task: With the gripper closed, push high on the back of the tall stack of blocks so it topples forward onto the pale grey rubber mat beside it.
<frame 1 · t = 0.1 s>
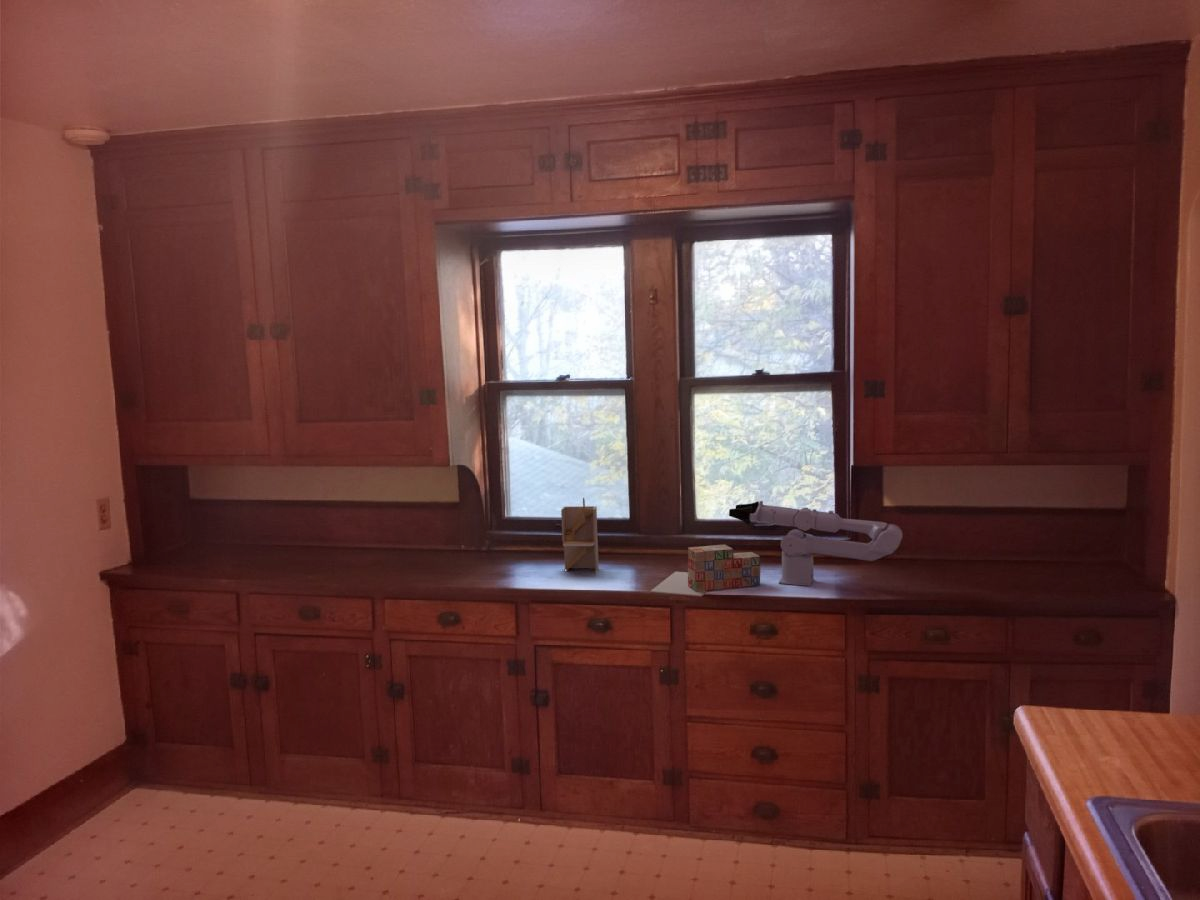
hand: (732, 510, 273), 22 cm above the countertop, tool horizontal, fingers open, 7 cm apart
stack of blocks: (723, 586, 265), on the countertop, touching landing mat
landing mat: (687, 584, 269), on the countertop
wooden shelf: (580, 572, 290), on the countertop
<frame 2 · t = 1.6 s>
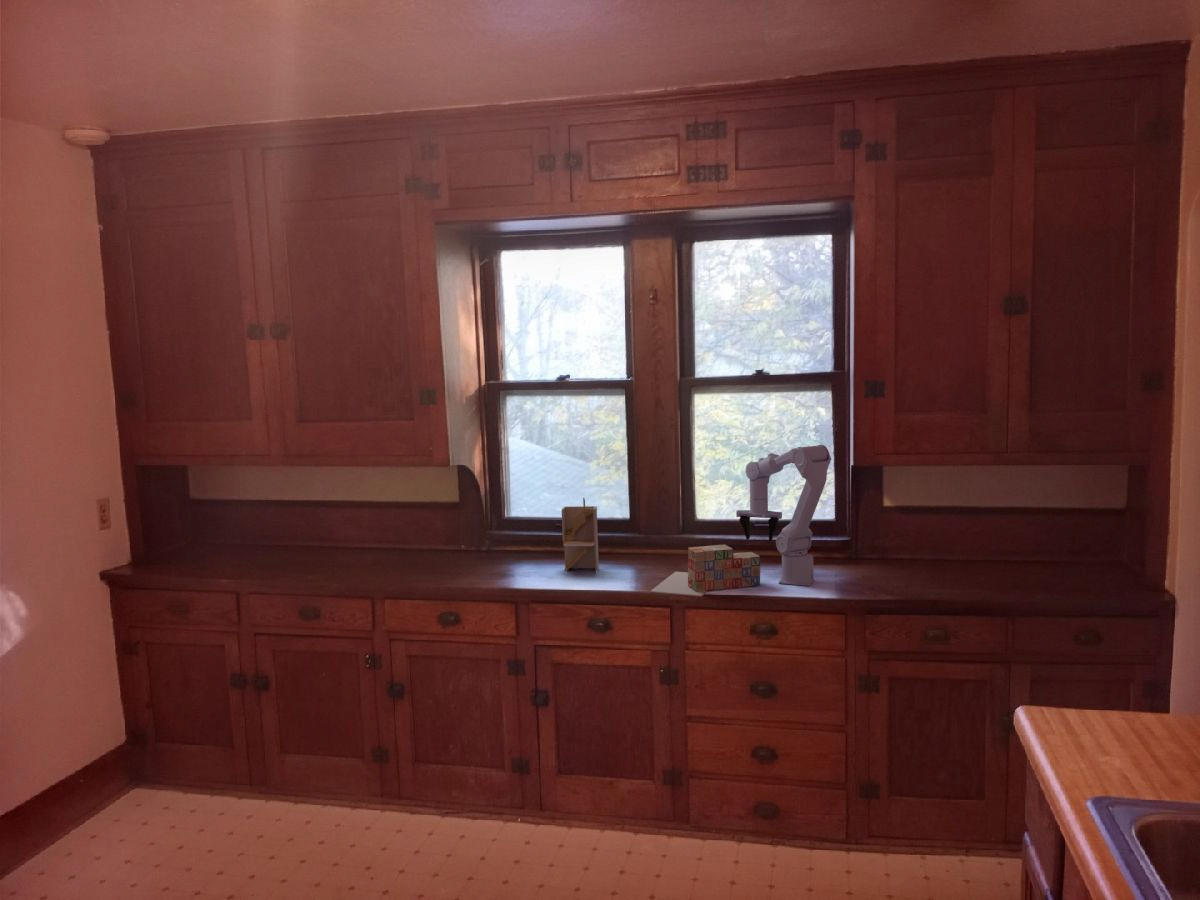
hand: (759, 539, 281), 10 cm above the countertop, tool pointing down, fingers open, 7 cm apart
nothing on the countertop moved.
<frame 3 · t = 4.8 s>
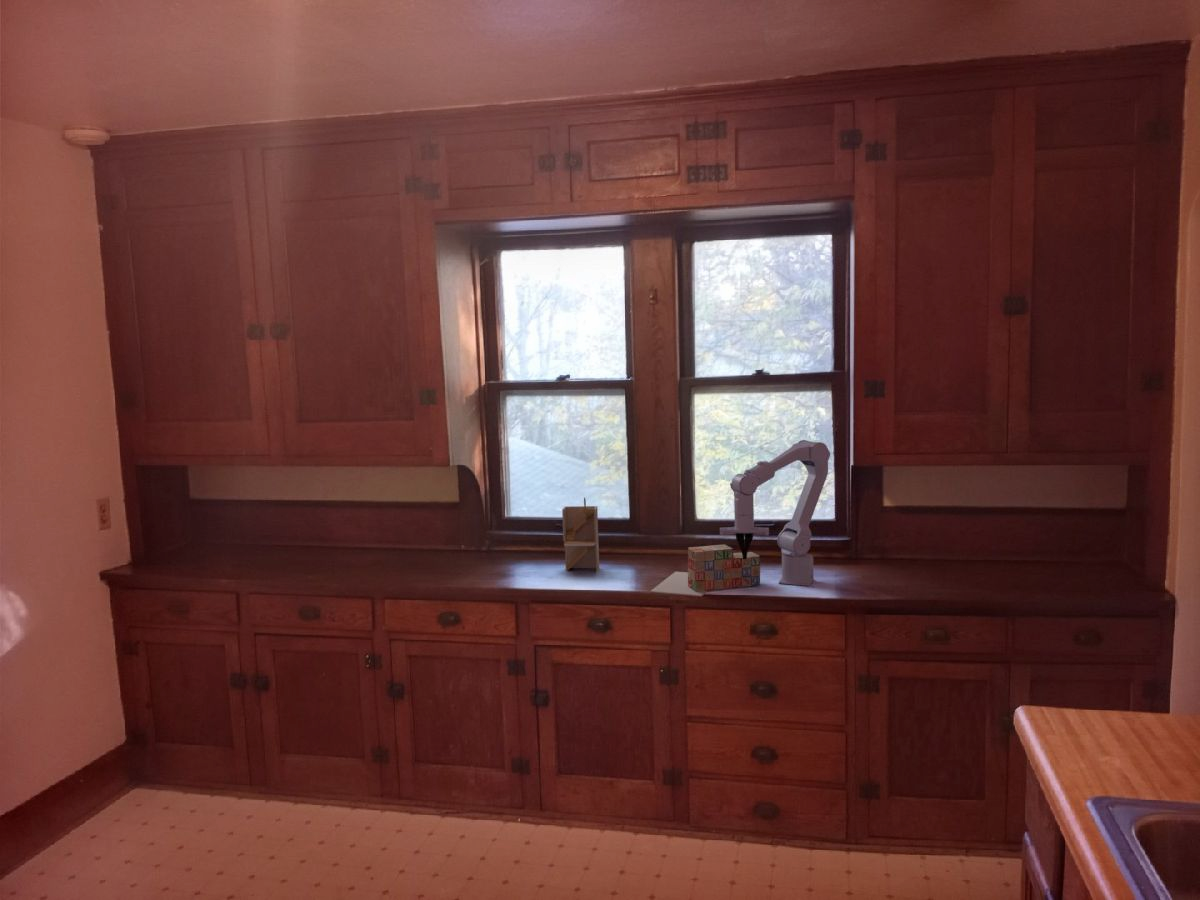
hand: (744, 558, 261), 9 cm above the countertop, tool pointing down, fingers closed
stack of blocks: (723, 586, 265), on the countertop, touching gripper, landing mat
everything else where it was.
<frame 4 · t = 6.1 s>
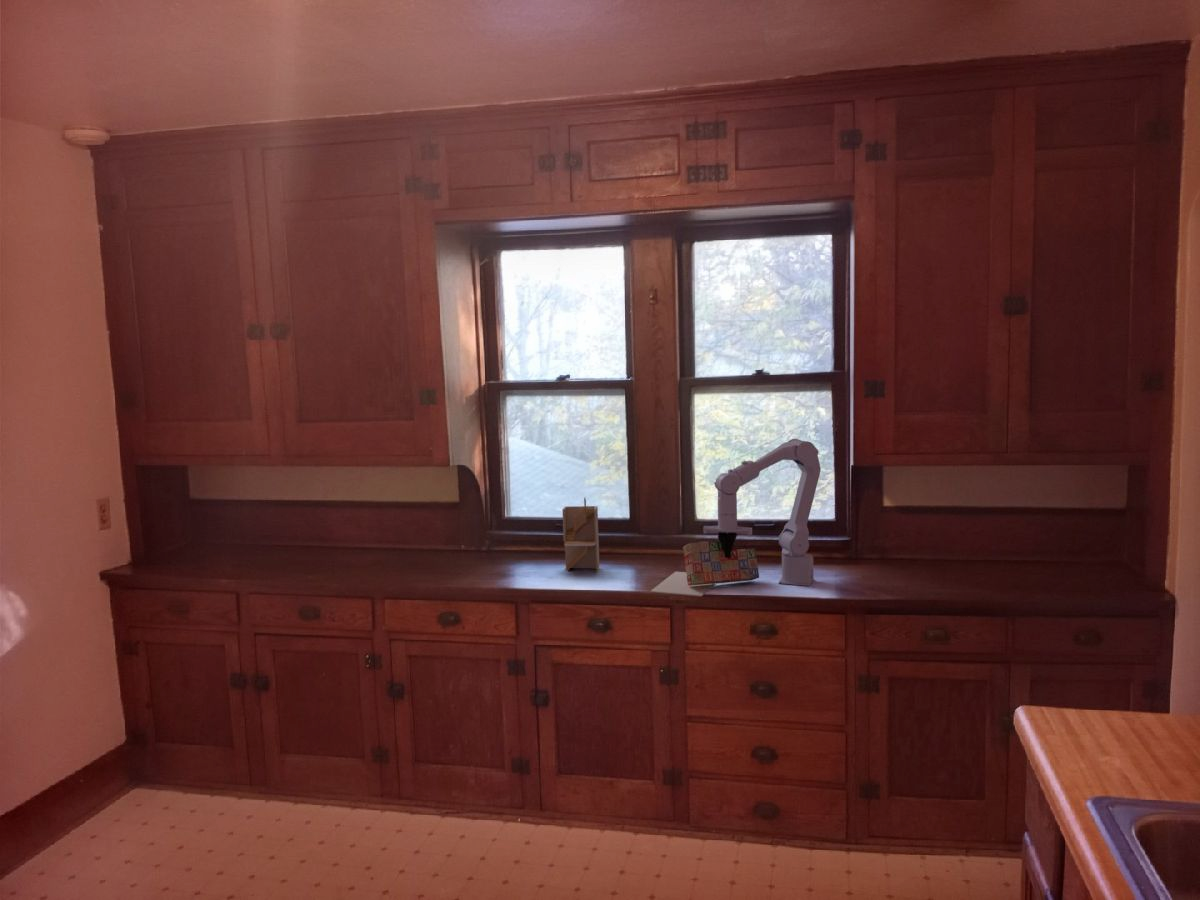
hand: (728, 557, 263), 9 cm above the countertop, tool pointing down, fingers closed
stack of blocks: (723, 582, 265), point 1 cm above the countertop, touching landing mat
everything else where it was.
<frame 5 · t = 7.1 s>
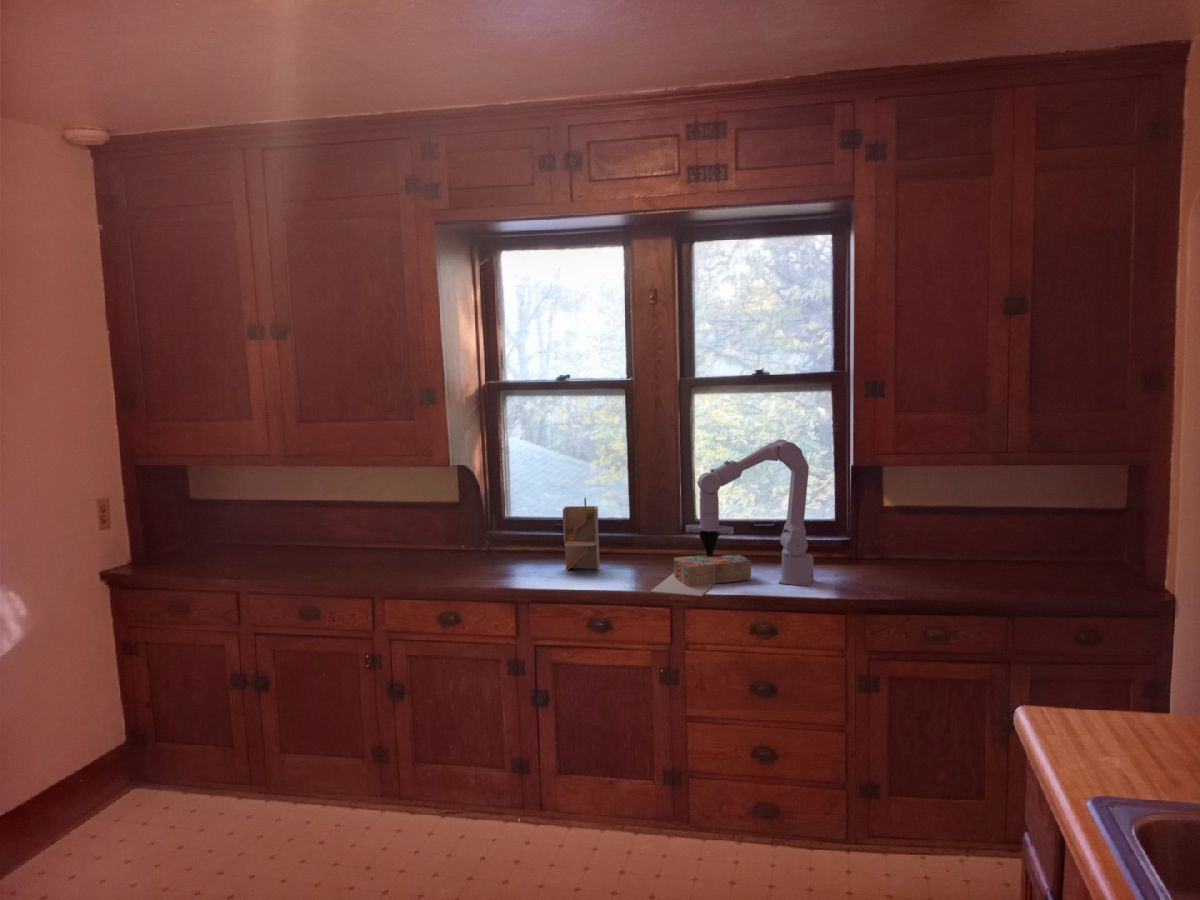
hand: (710, 555, 265), 9 cm above the countertop, tool pointing down, fingers closed
stack of blocks: (720, 573, 267), point 3 cm above the countertop, touching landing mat
everything else where it was.
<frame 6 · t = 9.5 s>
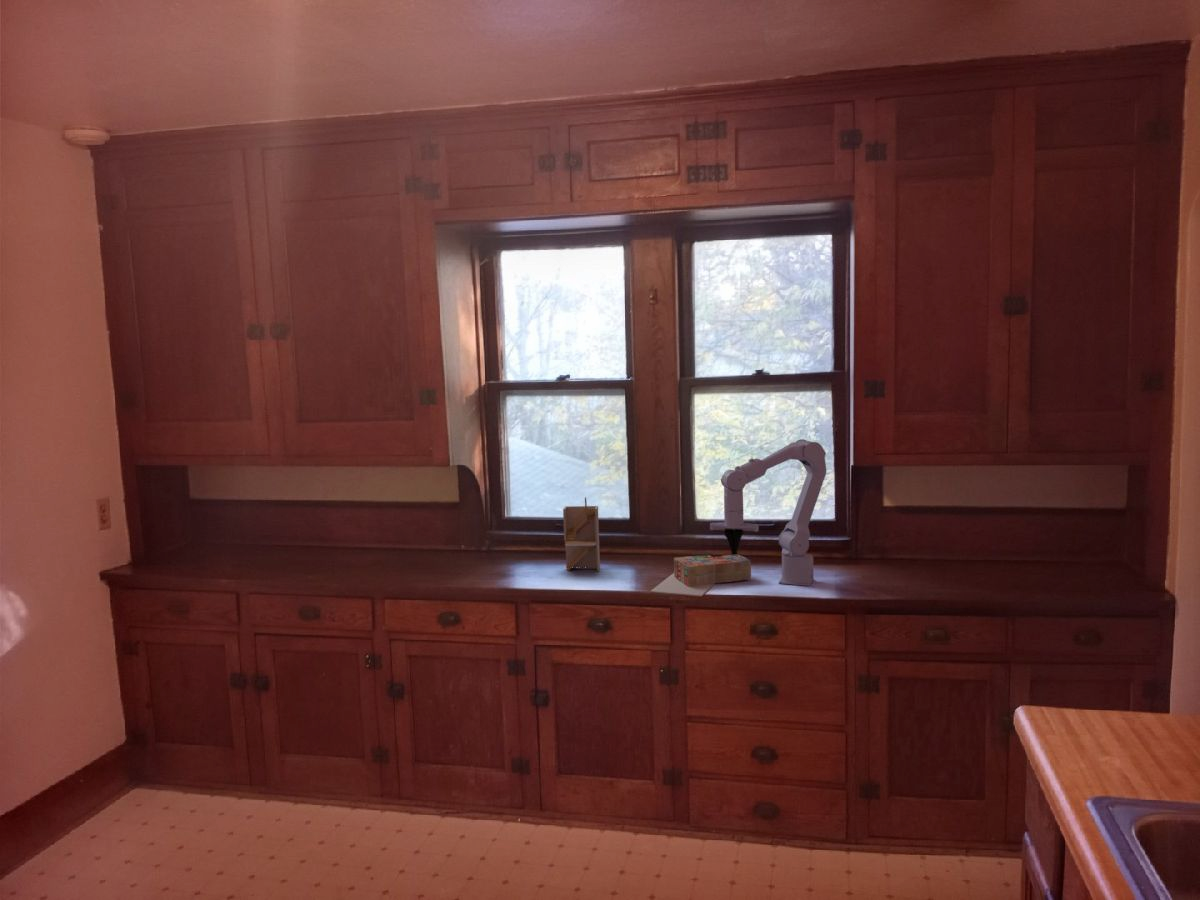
hand: (734, 553, 263), 10 cm above the countertop, tool pointing down, fingers closed
nothing on the countertop moved.
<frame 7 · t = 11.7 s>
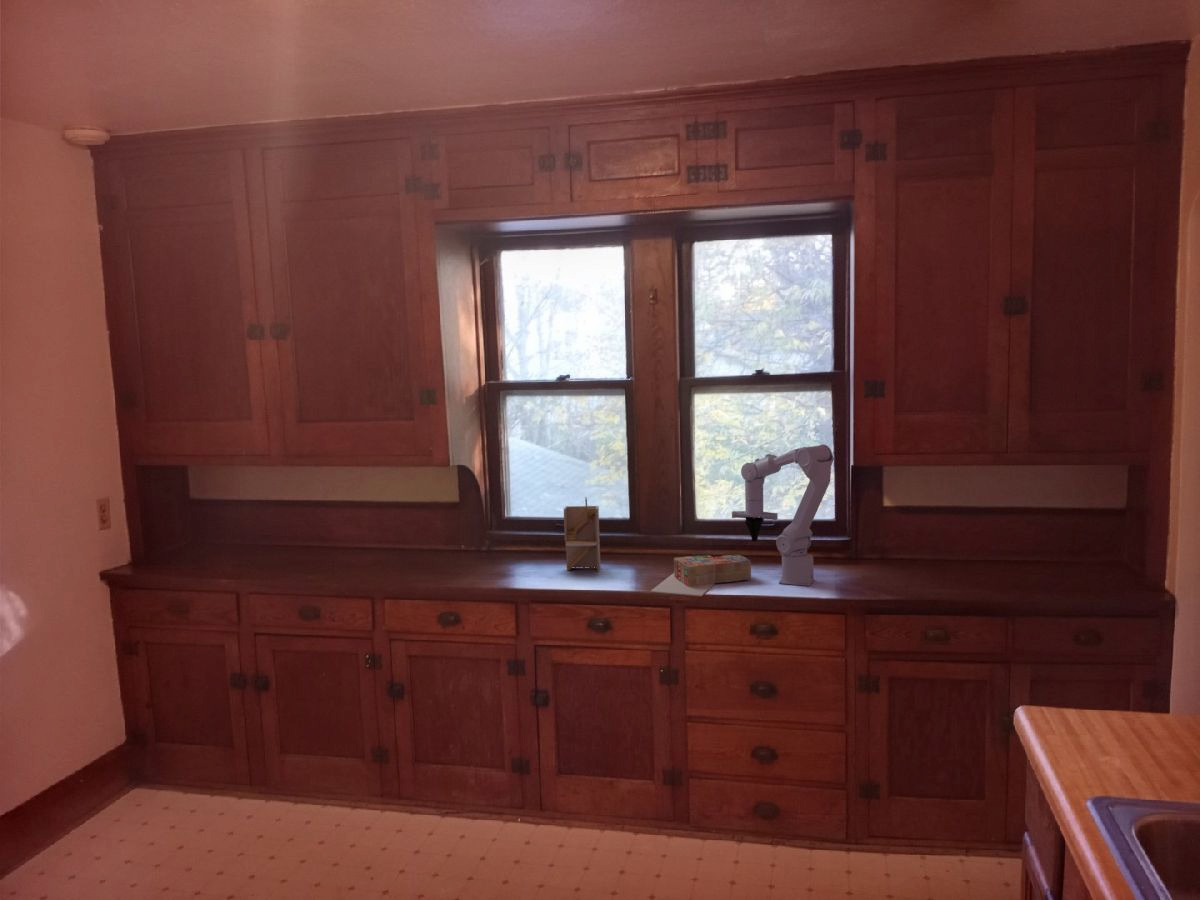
hand: (754, 540, 280), 10 cm above the countertop, tool pointing down, fingers closed
nothing on the countertop moved.
at the end: stack of blocks tilted 90°; stack of blocks touching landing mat; stack of blocks inside the target area (7.5 cm from its centre), point 3.5 cm above the countertop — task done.
